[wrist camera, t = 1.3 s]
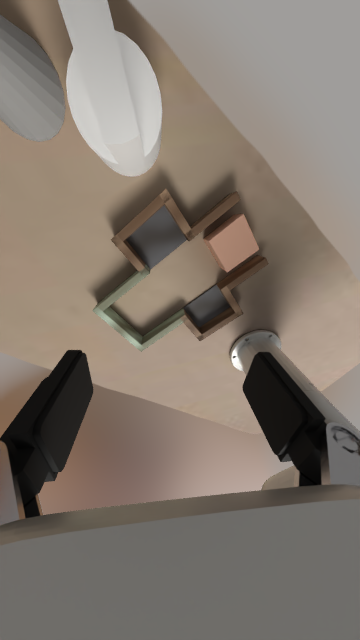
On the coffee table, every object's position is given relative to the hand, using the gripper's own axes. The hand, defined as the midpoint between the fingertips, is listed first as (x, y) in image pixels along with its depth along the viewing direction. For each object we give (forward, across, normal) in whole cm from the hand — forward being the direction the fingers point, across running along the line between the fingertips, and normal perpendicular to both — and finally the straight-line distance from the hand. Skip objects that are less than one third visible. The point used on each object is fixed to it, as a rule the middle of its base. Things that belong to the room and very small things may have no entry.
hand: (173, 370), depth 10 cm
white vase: (+25, +6, -17) cm, 31 cm away
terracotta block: (+25, -11, -5) cm, 28 cm away
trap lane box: (+25, -3, +2) cm, 25 cm away
